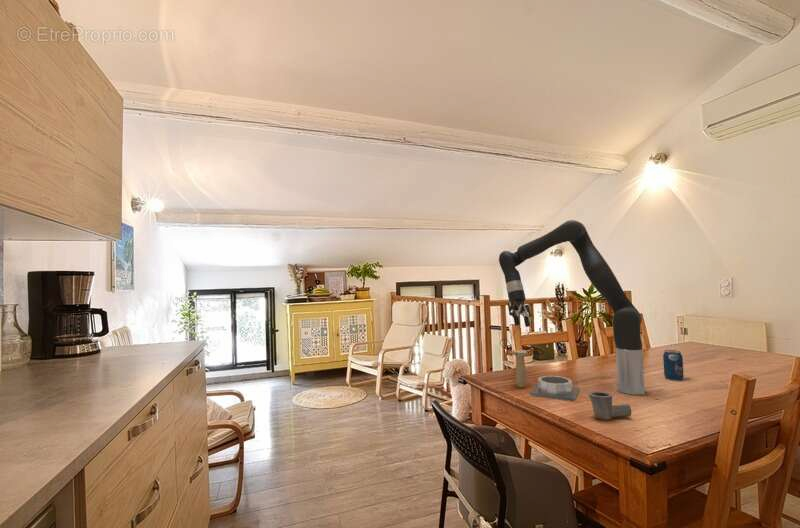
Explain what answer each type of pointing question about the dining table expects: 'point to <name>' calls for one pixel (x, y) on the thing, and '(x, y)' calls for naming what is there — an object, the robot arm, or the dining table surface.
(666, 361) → the soda can
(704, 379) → the dining table surface
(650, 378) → the dining table surface
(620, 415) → the pipe
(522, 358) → the grey upright column
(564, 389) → the duct collar
